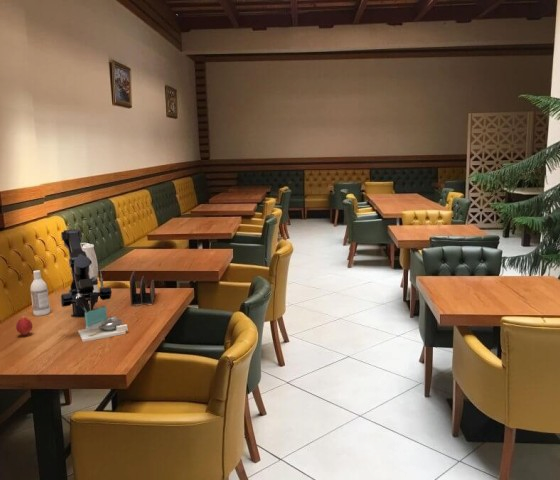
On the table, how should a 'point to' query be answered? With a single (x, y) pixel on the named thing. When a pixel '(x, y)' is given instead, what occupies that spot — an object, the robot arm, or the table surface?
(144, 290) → the letter holder
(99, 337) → the plate
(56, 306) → the table surface
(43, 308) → the bath foam
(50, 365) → the table surface
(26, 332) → the onion
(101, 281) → the skyscraper
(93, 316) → the cam foot
